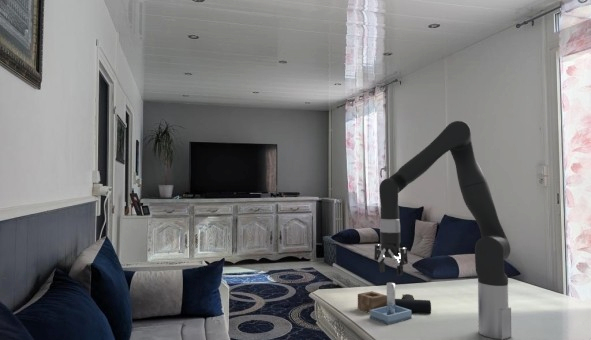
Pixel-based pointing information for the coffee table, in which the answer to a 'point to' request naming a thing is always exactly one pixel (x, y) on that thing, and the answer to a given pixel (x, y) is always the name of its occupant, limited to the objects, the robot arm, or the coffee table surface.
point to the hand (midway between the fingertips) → (390, 273)
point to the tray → (382, 316)
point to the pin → (390, 298)
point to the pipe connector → (414, 304)
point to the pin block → (371, 301)
